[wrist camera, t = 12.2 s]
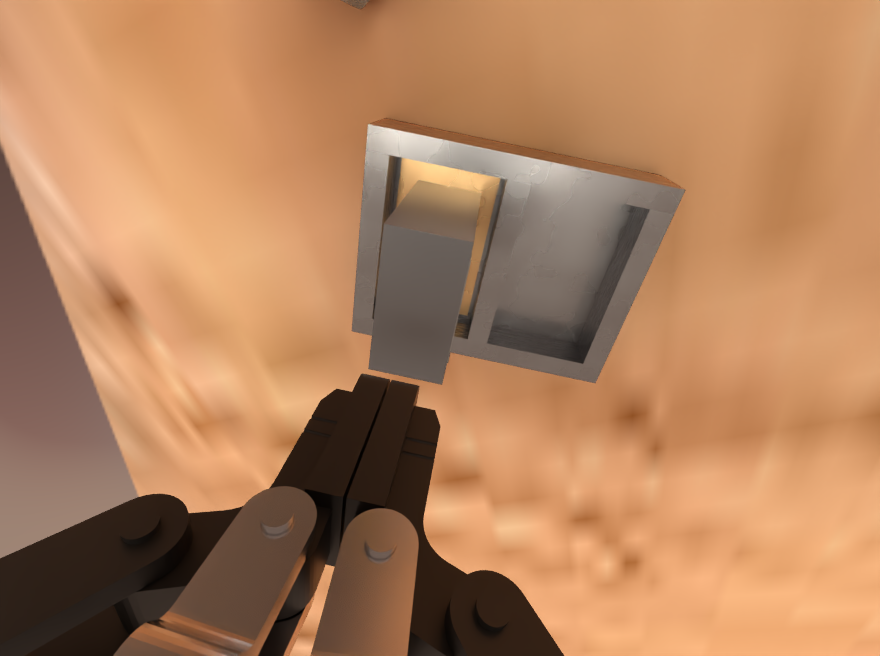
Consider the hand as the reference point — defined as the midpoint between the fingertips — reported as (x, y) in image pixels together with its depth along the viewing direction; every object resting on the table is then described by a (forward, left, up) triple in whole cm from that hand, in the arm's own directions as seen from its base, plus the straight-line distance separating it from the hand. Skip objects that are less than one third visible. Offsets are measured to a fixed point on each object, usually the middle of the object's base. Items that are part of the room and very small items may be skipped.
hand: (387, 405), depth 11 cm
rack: (-3, 0, -13) cm, 13 cm away
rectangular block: (0, 0, -12) cm, 12 cm away
